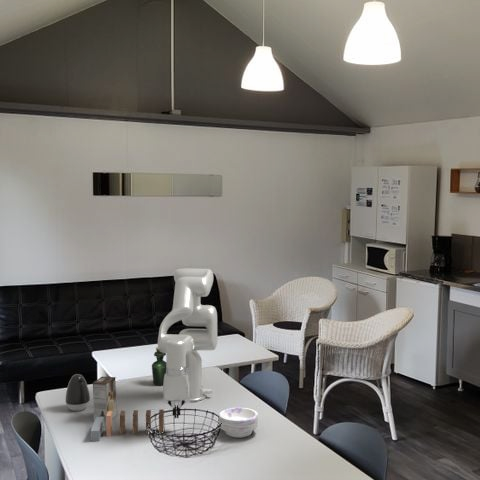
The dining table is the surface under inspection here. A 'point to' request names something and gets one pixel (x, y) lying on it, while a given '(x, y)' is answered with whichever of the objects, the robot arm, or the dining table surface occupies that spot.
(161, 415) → the domino
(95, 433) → the end block
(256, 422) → the white floral bowl
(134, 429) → the domino
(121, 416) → the domino
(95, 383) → the coffee box
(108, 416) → the domino
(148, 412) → the domino
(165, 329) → the robot arm
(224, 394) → the dining table surface
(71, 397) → the dark grey egg shape
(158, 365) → the potion bottle
